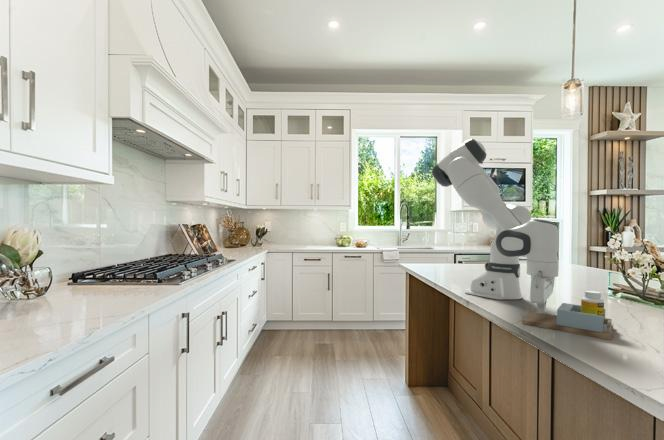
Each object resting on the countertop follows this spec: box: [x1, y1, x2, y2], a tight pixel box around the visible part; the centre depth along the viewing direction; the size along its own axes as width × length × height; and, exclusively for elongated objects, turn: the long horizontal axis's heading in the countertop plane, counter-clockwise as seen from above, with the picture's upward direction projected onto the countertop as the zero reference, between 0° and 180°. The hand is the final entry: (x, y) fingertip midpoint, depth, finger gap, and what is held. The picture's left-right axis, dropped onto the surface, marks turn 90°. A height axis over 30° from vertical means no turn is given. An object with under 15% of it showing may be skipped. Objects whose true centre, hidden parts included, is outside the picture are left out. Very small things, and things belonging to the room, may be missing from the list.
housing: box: [556, 302, 606, 333], centre depth 108 cm, size 11×12×4 cm
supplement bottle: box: [580, 290, 605, 324], centre depth 107 cm, size 6×6×10 cm
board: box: [522, 311, 614, 341], centre depth 111 cm, size 22×14×3 cm, turn 50°
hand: (541, 312), depth 116 cm, fingers closed
